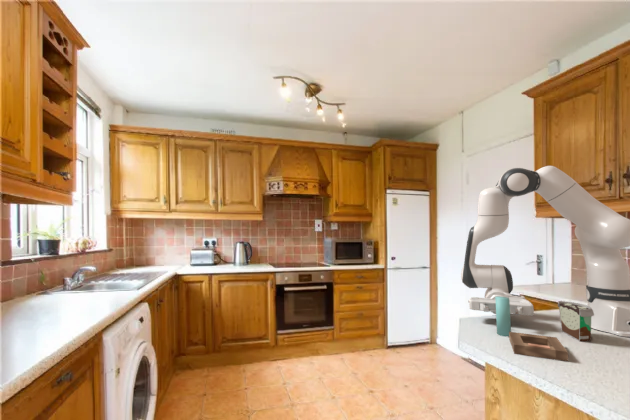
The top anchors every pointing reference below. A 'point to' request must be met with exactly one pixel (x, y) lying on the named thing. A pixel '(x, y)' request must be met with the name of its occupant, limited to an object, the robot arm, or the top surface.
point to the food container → (576, 320)
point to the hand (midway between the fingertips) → (501, 311)
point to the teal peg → (503, 316)
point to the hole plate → (538, 346)
